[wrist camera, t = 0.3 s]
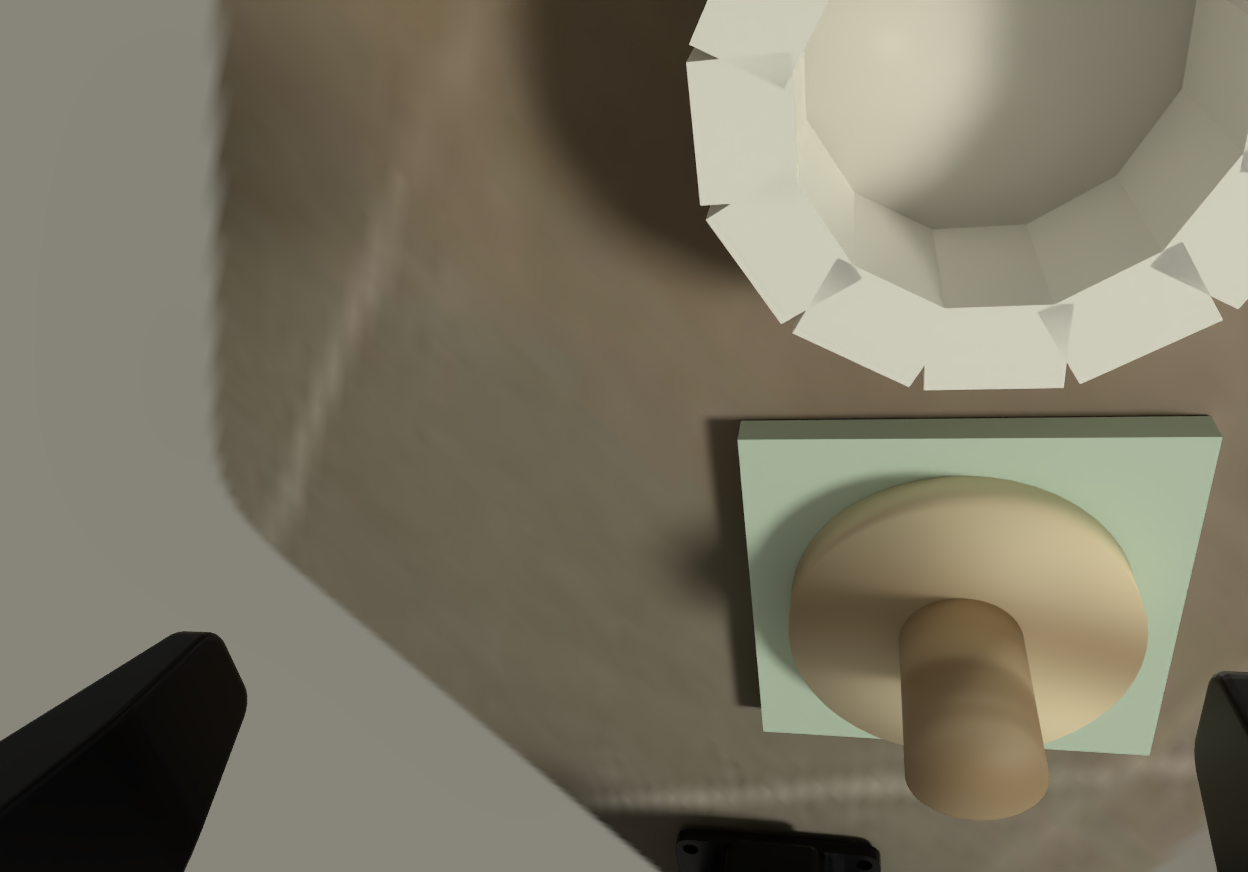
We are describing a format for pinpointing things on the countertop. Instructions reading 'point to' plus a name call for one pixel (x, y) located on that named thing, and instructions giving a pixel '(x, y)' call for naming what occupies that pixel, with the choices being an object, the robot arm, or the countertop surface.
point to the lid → (967, 632)
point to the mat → (988, 447)
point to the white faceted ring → (979, 176)
